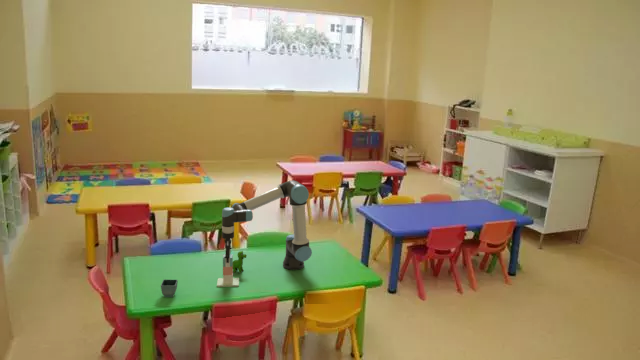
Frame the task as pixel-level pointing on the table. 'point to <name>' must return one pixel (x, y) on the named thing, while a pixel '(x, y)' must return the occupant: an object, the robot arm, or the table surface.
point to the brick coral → (227, 270)
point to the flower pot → (169, 287)
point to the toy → (239, 262)
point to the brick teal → (230, 260)
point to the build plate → (235, 283)
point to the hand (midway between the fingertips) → (228, 262)
